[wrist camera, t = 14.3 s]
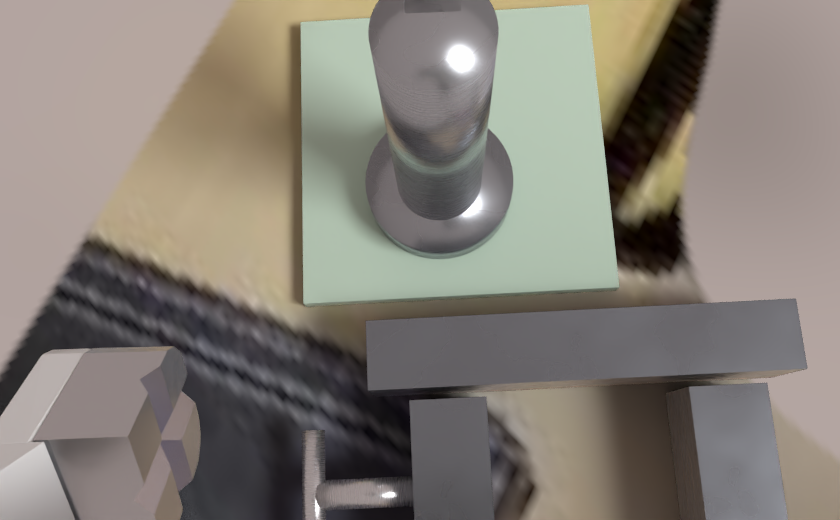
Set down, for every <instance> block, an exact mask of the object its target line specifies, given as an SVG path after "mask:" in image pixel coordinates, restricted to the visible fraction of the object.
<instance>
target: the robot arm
mask: <svg viewBox="0 0 840 520" xmlns="http://www.w3.org/2000/svg"><path fill="white" fill-rule="evenodd" d="M186 377H187V370H186V367H185V364H184V361H183V357H182V354H181V352H180V351H179V350H178V349H176V348H175V347H174V346H172V347H127V348H93V349H63V350H51V351H49V352H47V353H45V354H43V355H42V356H41V357H40V358H39V360H38V361H37V363H36V364H35V366H34V367H33V369H32V370H31V372H30V373H29V375H28V376H27V378H26V379H25V381H24V382H23V384H22V385H21V387H20V388H19V390H18V391H17V393H16V394H15V396H14V397H13V398H12V400H11V401H10V403H9V404H8V406H7V407H6V409H5V410H4V412H3V413H2V415H1V416H0V520H180V517H181V514H182V511H183V507H182V504H181V500H180V497H179V493H178V492H179V491H180V490H181V489H182V488H183V487H185V486H186V485H187V484H188V483H189V482H190V481H192V480H193V477H194V474H195V470H196V467H197V464H198V460H199V450H200V439H201V435H200V424H199V416H198V412H197V408H196V404H195V402H194V401H193V400H191V399H190V398H189V397H188V396H187V395H185V394H184V393H183V392H182V391H181V390H182V387H183V385H184V382H185V379H186Z"/></svg>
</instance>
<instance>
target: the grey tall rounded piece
mask: <svg viewBox="0 0 840 520" xmlns="http://www.w3.org/2000/svg"><path fill="white" fill-rule="evenodd" d="M498 35H499V27H498V20H497V16H496V13H495V10H494V8H493V6H492V4H491V3H490V1H489V0H379V1H378V3H377V4H376V6H375V8H374V10H373V12H372V15H371V18H370V22H369V30H368V36H369V44H370V49H371V54H372V59H373V64H374V70H375V75H376V80H377V85H378V90H379V95H380V100H381V105H382V110H383V116H384V121H385V126H386V131H387V133H386V134H385V135H384V136H383V137H382V138H381V139H380V141H379V142H378V144H377V145H376V147H375V148H374V150H373V152H372V154H371V156H370V159H369V162H368V166H367V170H366V180H365V184H366V194H367V198H368V202H369V205H370V208H371V211H372V214H373V217H374V219H375V221H376V223H377V225H378V227H379V228H380V229H381V231H382V232H383V234H384V235H385V236H386V237H387V238H388V239H389V240H390V241H391V242H393V243H394V244H395V245H396V246H398V247H399V248H401V249H403V250H404V251H406V252H408V253H411V254H413V255H416V256H419V257H423V258H429V259H451V258H455V257H460V256H463V255H466V254H468V253H471V252H472V251H474V250H476V249H478V248H480V247H481V246H482V245H484V244H485V243H486V242H488V241H489V240H490V239H491V238H492V237H493V236H494V235H495V233H496V232H497V231H498V230H499V228H500V227H501V225H502V223H503V222H504V219H505V217H506V215H507V212H508V209H509V206H510V201H511V197H512V192H513V170H512V165H511V162H510V158H509V156H508V154H507V151H506V150H505V148H504V146H503V144H502V143H501V142H500V140H499V139H498V138H497V136H496V135H495V134H494V133H493V132H492V131H491V130H490V129H488V122H489V114H490V105H491V96H492V87H493V79H494V70H495V61H496V53H497V44H498Z"/></svg>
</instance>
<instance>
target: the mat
mask: <svg viewBox="0 0 840 520" xmlns="http://www.w3.org/2000/svg"><path fill="white" fill-rule="evenodd" d="M495 13H496V16H497V20H498V27H499V35H498V44H497V53H496V61H495V70H494V79H493V87H492V96H491V105H490V114H489V122H488V129H490V130H491V131H492V132H493V133H494V134H495V135H496V136H497V138H498V139H499V140H500V142H501V143H502V144H503V146H504V148H505V150H506V151H507V154H508V156H509V158H510V162H511V165H512V170H513V192H512V197H511V201H510V206H509V209H508V212H507V215H506V217H505V219H504V222H503V223H502V225H501V227H500V228H499V230H498V231H497V232H496V233H495V235H494V236H493V237H492V238H491V239H490V240H489V241H488V242H486V243H485V244H484V245H482V246H481V247H480V248H478V249H476V250H474V251H472V252H471V253H468V254H466V255H463V256H460V257H455V258H451V259H429V258H423V257H419V256H416V255H413V254H411V253H408V252H406V251H404V250H403V249H401V248H399V247H398V246H396V245H395V244H394V243H393V242H391V241H390V240H389V239H388V238H387V237H386V236H385V235H384V234H383V232H382V231H381V229H380V228H379V227H378V225H377V223H376V221H375V219H374V217H373V214H372V211H371V208H370V205H369V202H368V198H367V194H366V184H365V180H366V170H367V166H368V162H369V159H370V156H371V154H372V152H373V150H374V148H375V147H376V145H377V144H378V142H379V141H380V139H381V138H382V137H383V136H384V135H385V134H386V133H387V131H386V126H385V121H384V116H383V110H382V105H381V100H380V95H379V90H378V85H377V80H376V75H375V70H374V64H373V59H372V54H371V49H370V44H369V36H368V30H369V22H370V18H361V19H345V20H328V21H312V22H301V113H302V213H303V304H304V305H305V306H306V307H310V306H329V305H348V304H367V303H387V302H406V301H425V300H444V299H463V298H482V297H501V296H520V295H540V294H559V293H578V292H597V291H616V290H617V289H618V288H619V279H618V270H617V261H616V252H615V243H614V234H613V225H612V216H611V207H610V198H609V188H608V179H607V170H606V161H605V152H604V143H603V134H602V125H601V116H600V107H599V98H598V88H597V79H596V70H595V61H594V52H593V43H592V34H591V25H590V16H589V7H588V5H573V6H557V7H541V8H524V9H508V10H495Z"/></svg>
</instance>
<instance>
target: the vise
mask: <svg viewBox="0 0 840 520" xmlns="http://www.w3.org/2000/svg"><path fill="white" fill-rule="evenodd" d="M366 347H367V381H368V391H369V392H370V393H371V394H373V395H374V396H375V397H386V396H406V395H427V394H447V393H467V392H488V391H508V390H528V389H548V388H569V387H589V386H609V385H630V384H650V383H670V382H690V381H711V380H731V379H751V378H771V377H776V376H780V375H784V374H788V373H792V372H796V371H800V370H804V369H807V363H806V357H805V351H804V345H803V338H802V332H801V327H800V321H799V314H798V309H797V302H796V299H778V300H758V301H741V302H740V301H739V302H720V303H700V304H681V305H662V306H642V307H623V308H604V309H584V310H565V311H546V312H526V313H507V314H488V315H468V316H449V317H430V318H410V319H391V320H372V321H366ZM665 395H666V403H667V412H668V420H669V428H670V437H671V445H672V453H673V461H674V470H675V478H676V486H677V495H678V503H679V511H680V520H788V516H787V510H786V503H785V496H784V490H783V483H782V477H781V470H780V464H779V457H778V450H777V444H776V437H775V431H774V424H773V418H772V411H771V404H770V398H769V391H768V385H767V383H753V384H733V385H712V386H692V387H686V388H683V389H679V390H676V391H673V392H669V393H666V394H665ZM409 404H410V428H411V451H412V475H413V476H404V477H382V478H361V479H339V480H325V430H309V431H302V511H303V520H326V510H342V509H364V508H386V507H408V506H414V520H494V508H493V492H492V477H491V462H490V447H489V431H488V416H487V401H486V397H468V398H448V399H428V400H409Z"/></svg>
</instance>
